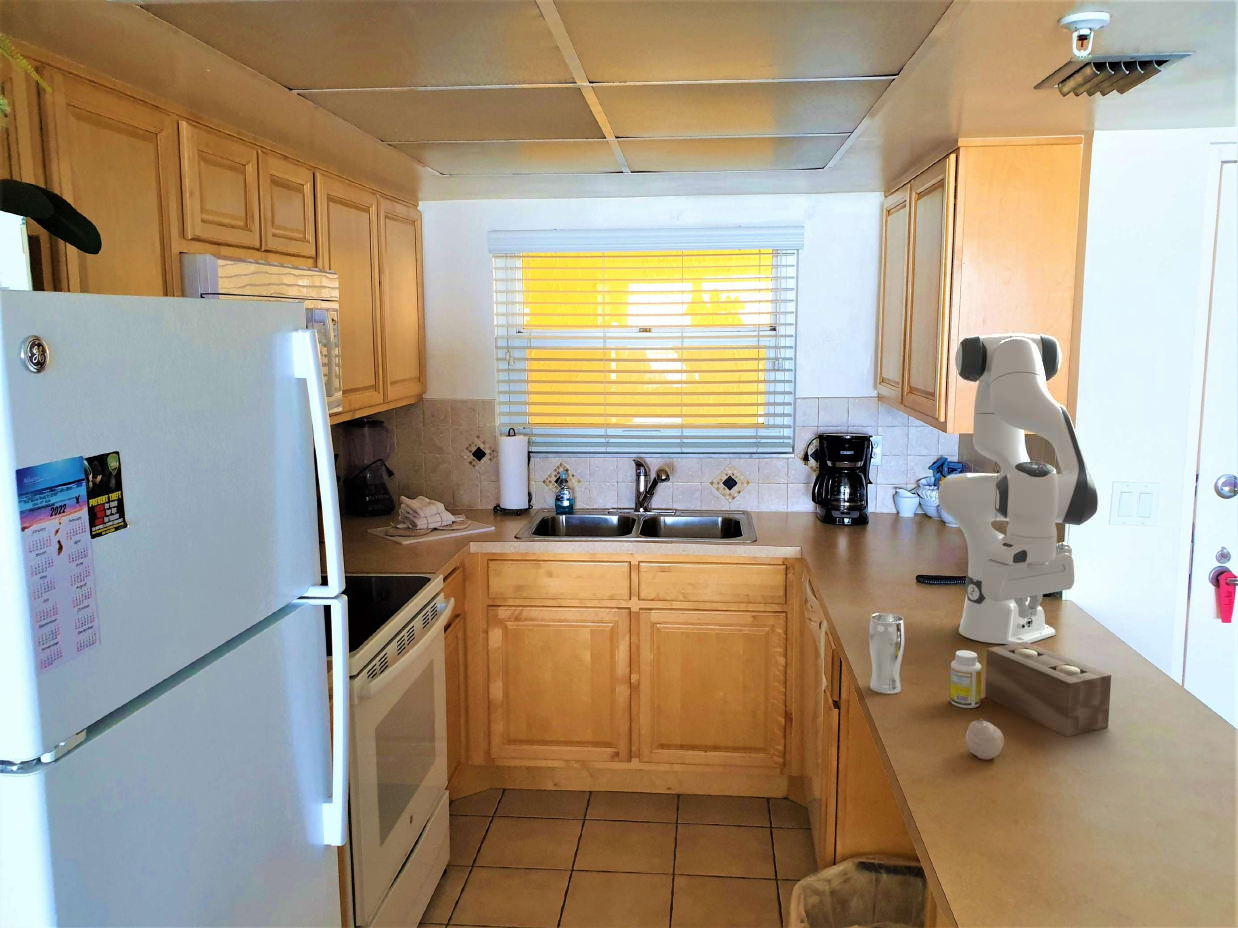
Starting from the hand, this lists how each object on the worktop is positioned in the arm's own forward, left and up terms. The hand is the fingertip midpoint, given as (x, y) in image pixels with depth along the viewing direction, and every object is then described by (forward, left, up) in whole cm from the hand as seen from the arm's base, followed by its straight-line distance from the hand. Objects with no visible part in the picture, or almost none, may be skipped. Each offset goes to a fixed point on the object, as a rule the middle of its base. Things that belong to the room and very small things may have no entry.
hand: (1027, 616), depth 178 cm
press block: (0, +5, -17) cm, 18 cm away
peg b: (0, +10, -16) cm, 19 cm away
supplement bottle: (+11, -4, -17) cm, 21 cm away
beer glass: (+20, -16, -17) cm, 31 cm away
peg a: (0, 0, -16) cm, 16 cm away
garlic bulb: (+24, +15, -18) cm, 34 cm away
